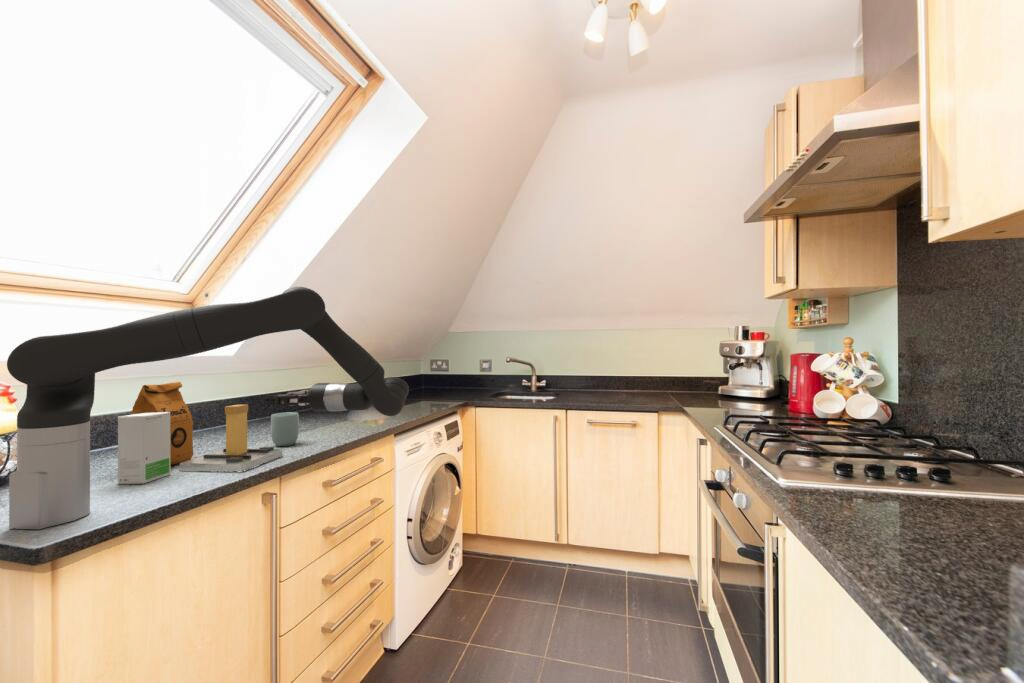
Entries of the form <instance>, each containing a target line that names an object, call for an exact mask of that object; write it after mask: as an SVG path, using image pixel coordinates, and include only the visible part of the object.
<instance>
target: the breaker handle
mask: <svg viewBox="0 0 1024 683" xmlns="http://www.w3.org/2000/svg"><path fill="white" fill-rule="evenodd" d="M248 413H249V404H233V405H226V406H224V414H225V434H226V435H225V449H226V455H239V454H242V453H245V452H247V449H248Z"/></svg>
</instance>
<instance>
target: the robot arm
mask: <svg viewBox="0 0 1024 683" xmlns="http://www.w3.org/2000/svg"><path fill="white" fill-rule="evenodd" d="M295 330H296V331H297V330H301V331H302V332H303V333H305V334H306V335H308V336H309V337H310V338H312V339H313V340H314V341H315V342H316V343H317V344H319V345H320V346H321V347H322V348H323V349H324V350H325V351H326V353H327V354H328V355H329V356H330V357H331V358H333V360H334V361H335V362H336V363H337V364H338V365H339V366H340V367H341V368H342V369H343V370H344V372H346V374H348V376H350V377H351V379H353V380H354V381H355V382H356V383H348V382H317V383H314V384H313V385H312V387H311V388H310V389H302V390H299V391H286V392H285V393H284V394H276V395H275V394H274V395H273V394H272V395H270V394H269V395H264V397H263V401H264V402H263V404H264V405H274V406H275V407H282V406H283V407H284V406H285V407H287V406H289V407H293V406H295V407H296V406H302V407H303V406H307V405H309V406H310V408H311V409H312V411H314V412H317V413H318V412H344V411H366V410H368V409H369V408H371V407H372V406H373V408H374V409H375V410H376V411H377V412H378V413H380V414H381V415H383V416H386V417H395V416H397V415H399V414H400V412H401V411H402V410H403V407H404V405H405V402H406V400H407V397H408V395H409V393H410V390H409V389H410V386H409V384H408V382H406V381H405V379H402V378H399V377H397V376H395V377H393V376H390V377H385V368H384V367H383V366H382V364H380V363H379V362H378V361H377V360H376V359H375V358H374V357H373V356H372V355H371V353H369V352H368V351H367V349H365V348H364V347H363V346H362V345H360V343H358V342H357V341H356V340H354V339H353V338H352V336H350V335H349V334H348V333H347V332H345V331H344V330H343V329H342V328H341V327H340V326H339V325H338V324H337V323H336V322H335V320H333V318H332V317H331V316H330V315H329V314H328V312H327V311H326V304H325V301H324V299H323V297H322V296H321V295H320V294H319V293H318V292H317V291H315V290H313V289H312V288H308V287H304V286H293V287H290V288H287V289H286V290H284V291H283V292H282V293H280V294H276V295H273V296H268V297H265V298H262V299H258V300H253V301H247V302H235V303H219V304H208V305H202V306H195V307H190V308H189V307H188V308H183V309H179V310H175V311H170V312H169V311H168V312H164V313H161V314H155V315H152V316H149V317H144V318H141V319H137V320H133V321H129V322H126V323H124V324H123V323H122V324H119V325H116V326H115V325H114V326H112V327H111V326H110V327H107V328H102V329H95V330H87V331H81V332H74V333H73V332H72V333H64V334H63V333H62V334H55V335H54V334H53V335H44V336H43V335H42V336H37V337H33V338H29V339H28V340H25V341H24V342H21V343H20V344H18V345H17V346H16V347H15V348H14V349H13V350H12V351H11V352H10V354H9V356H7V360H6V368H7V371H8V373H9V374H10V376H12V378H14V379H15V380H16V381H18V382H19V383H22V384H25V385H26V395H25V396H26V397H25V401H24V403H23V405H22V407H21V408H20V409H19V411H18V413H17V415H16V470H15V471H13V472H11V473H10V474H9V476H8V477H9V478H8V479H9V480H8V481H9V482H8V483H9V484H8V485H9V487H8V488H9V494H8V496H9V498H8V501H9V502H8V503H9V504H8V505H9V506H8V507H9V508H8V509H9V510H8V516H9V517H8V529H14V528H15V529H18V530H42V529H45V528H49V527H53V526H58V525H62V524H66V523H69V522H73V521H77V520H80V519H82V518H84V517H85V516H88V515H89V514H90V512H91V411H92V408H93V405H94V401H95V387H96V386H95V385H96V373H100V372H104V371H106V370H107V371H108V370H111V369H115V368H119V367H122V366H128V365H136V364H143V363H152V362H153V363H154V362H160V361H166V360H172V359H179V358H183V357H189V356H193V355H197V354H202V353H205V352H209V351H214V350H216V349H220V348H223V347H228V346H231V345H234V344H237V343H240V342H244V341H246V340H250V339H253V338H256V337H259V336H265V335H269V334H274V333H275V334H276V333H281V332H282V333H283V332H288V331H295Z"/></svg>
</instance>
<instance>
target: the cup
mask: <svg viewBox="0 0 1024 683" xmlns="http://www.w3.org/2000/svg"><path fill="white" fill-rule="evenodd" d="M299 431H300V415H299V412H295V411H293V412H292V411H287V412H277V413H273V414H271V415H270V436H271V440H272V443H273V444H274V445H275V446H276V447H280V446H284V447H290V446H293V445H294V444H296V443H297V441H298V439H299V433H300V432H299ZM289 445H290V446H289Z"/></svg>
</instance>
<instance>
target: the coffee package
mask: <svg viewBox="0 0 1024 683" xmlns="http://www.w3.org/2000/svg"><path fill="white" fill-rule="evenodd" d="M182 387H183V384H182V382H181V381H177V382H169V383H160V384H143V385H142V387H141V388H140V391H139V393H138V395H137V397H136V398H137V399H136V400H135V402H134V403H133V406H132V410H131V415H133V414H141V413H157V412H170V466H175V465H177V464H180V463H182V462H185V461H189V460H192V459H193V456H194V445H193V443H194V441H193V430H194V428H193V426H194V421H193V417H192V416H193V415H192V414H191V411H190V409H189V407H188V405H187V403H186V402H185V400H184V398H183V395H182V392H181V391H179V390H180V388H182Z"/></svg>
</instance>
